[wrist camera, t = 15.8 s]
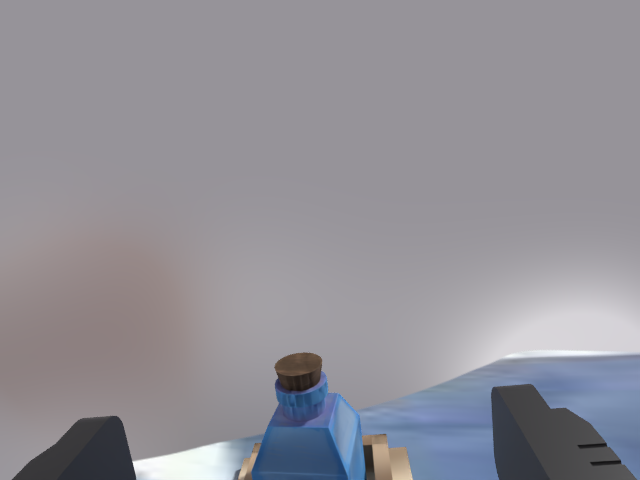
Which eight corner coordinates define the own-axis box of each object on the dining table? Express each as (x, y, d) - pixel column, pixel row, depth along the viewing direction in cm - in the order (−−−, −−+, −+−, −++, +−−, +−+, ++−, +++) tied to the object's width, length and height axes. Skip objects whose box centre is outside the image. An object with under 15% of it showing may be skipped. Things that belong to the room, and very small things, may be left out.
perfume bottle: (264, 553, 30) (237, 388, 28) (289, 485, 36) (268, 344, 34) (358, 561, 29) (337, 388, 27) (367, 488, 35) (351, 341, 32)
